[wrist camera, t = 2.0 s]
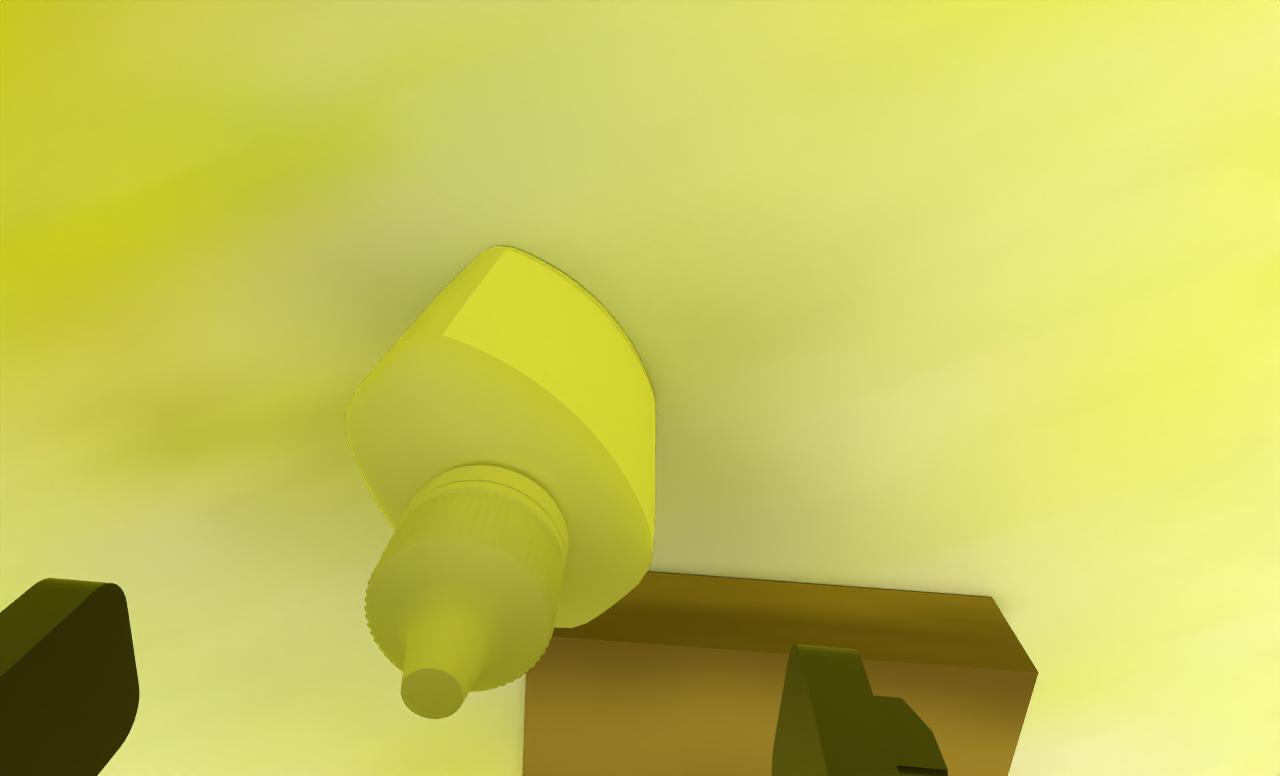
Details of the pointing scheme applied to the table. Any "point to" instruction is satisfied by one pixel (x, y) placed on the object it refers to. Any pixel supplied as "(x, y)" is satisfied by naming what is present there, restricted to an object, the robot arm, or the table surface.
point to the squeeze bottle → (502, 476)
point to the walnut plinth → (764, 675)
